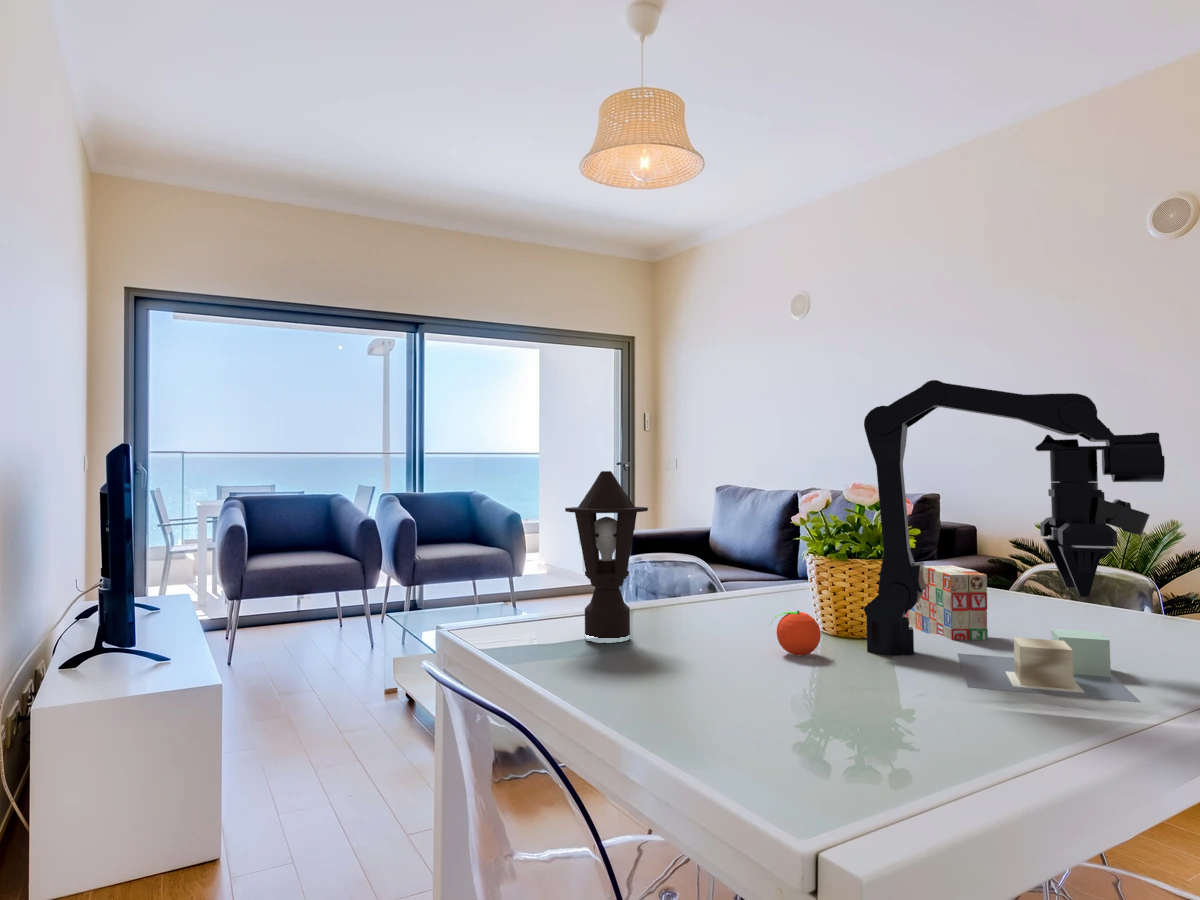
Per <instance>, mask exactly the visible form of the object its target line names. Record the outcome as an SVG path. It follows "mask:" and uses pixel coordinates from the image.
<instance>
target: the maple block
mask: <svg viewBox="0 0 1200 900" xmlns="http://www.w3.org/2000/svg"><path fill="white" fill-rule="evenodd" d="M1013 653H1014V654H1013V656H1014V661H1015V675H1016V677H1017V679H1018V681H1019V682H1020V684H1021V685H1029V686H1040V687H1052V688H1064V689H1074V679H1073V650H1072V649H1071V648H1070V647H1069V646H1068V645H1067V644H1066V643H1065V641H1061V640H1051V639H1046V638H1045V639H1043V638H1042V639H1041V638H1029V637H1027V638H1026V637H1013Z"/></svg>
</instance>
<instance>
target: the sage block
mask: <svg viewBox="0 0 1200 900" xmlns="http://www.w3.org/2000/svg"><path fill="white" fill-rule="evenodd" d="M1050 634H1051V635H1050V636H1051V639H1050V640H1061V641H1065V643H1066V644H1067V645H1068V646H1069V647H1070V648H1071V649H1072V650H1073V674H1078V675H1091V676H1104V677H1111V674H1112V673H1111V643H1110V641H1111V640H1110V639H1109V638H1108V637H1106V636H1105V635H1104V634H1103V633H1101V632H1100V631H1093V630H1092V631H1091V630H1077V629H1057V628H1051V629H1050Z"/></svg>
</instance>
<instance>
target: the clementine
mask: <svg viewBox="0 0 1200 900" xmlns="http://www.w3.org/2000/svg"><path fill="white" fill-rule="evenodd" d="M781 615H784V616H782V617H781V619H780V620H779V621H778V623H777V625H776V638H777V642H778V643H779V645H780V647H781V648H782V649H783V650H784V651H786V652H787V654H791V655H793V656H798V657H801V656H806V655H809V654H811V653H812V652H814V651H815V650H816V649H817V647H818V646H819V644H820V642H821V638H822V637H821V636H822V635H821V628H820V626H819V624H818V622H817V621H816V620H815V618H814V617H813V616H811V615H810V614H809V613H806V612H802V611H800V610H797V611H786V612H782V613H780V614H777V615H776V616H775V617H773V619H772V620H771V623H770V624H769V626H771V624H772V622H773V620H774V619H776V618H778V617H779V616H781Z"/></svg>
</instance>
